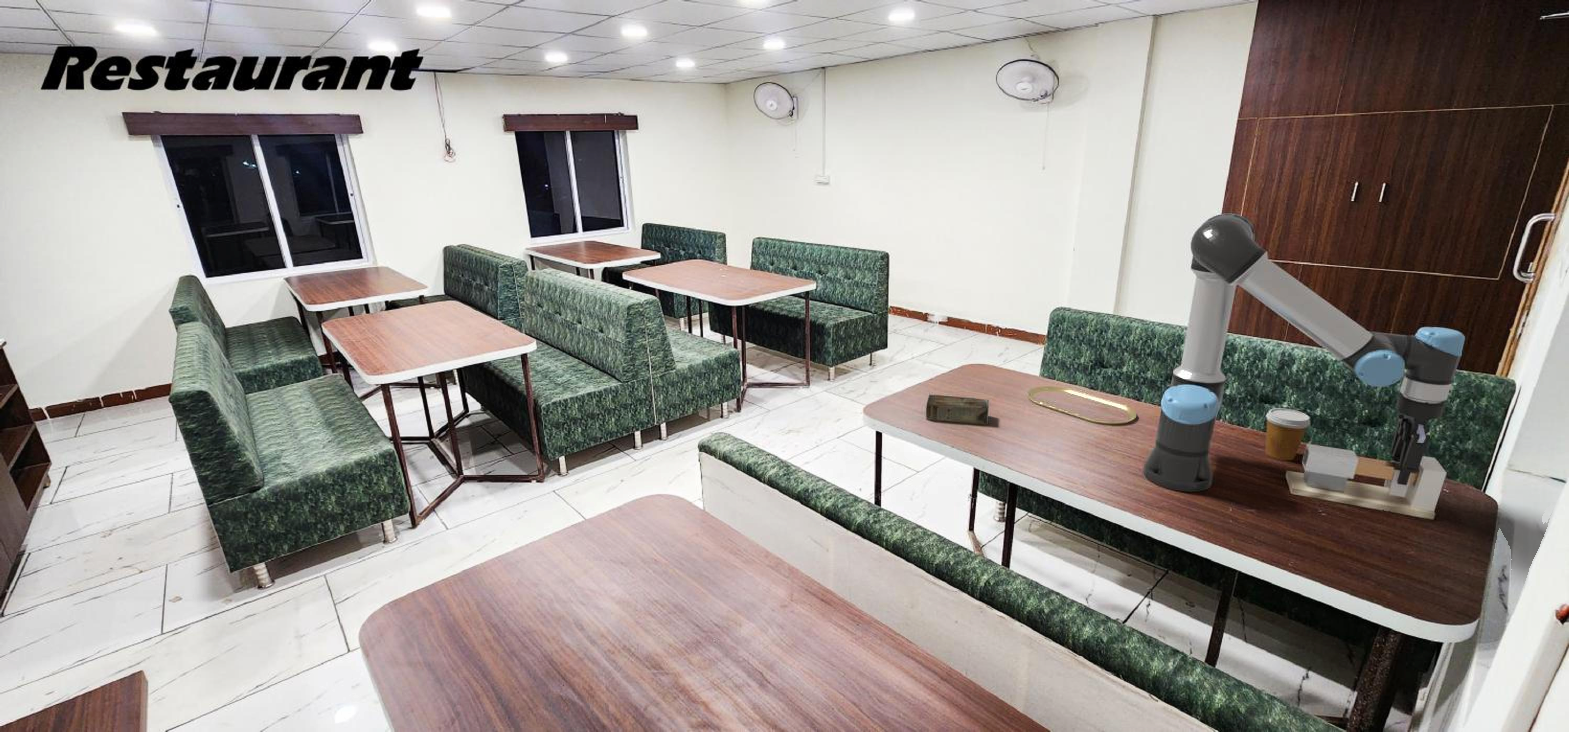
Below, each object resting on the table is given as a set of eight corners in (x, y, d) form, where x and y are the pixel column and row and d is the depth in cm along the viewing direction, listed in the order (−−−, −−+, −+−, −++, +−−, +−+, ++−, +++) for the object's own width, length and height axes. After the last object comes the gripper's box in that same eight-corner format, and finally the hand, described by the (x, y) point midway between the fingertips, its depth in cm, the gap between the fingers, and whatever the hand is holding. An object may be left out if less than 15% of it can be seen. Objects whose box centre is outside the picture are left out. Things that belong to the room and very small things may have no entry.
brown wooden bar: (1338, 471, 153) (1341, 459, 152) (1335, 465, 156) (1338, 453, 155) (1425, 485, 146) (1429, 472, 145) (1421, 479, 148) (1425, 466, 147)
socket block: (1411, 507, 146) (1423, 469, 143) (1402, 491, 153) (1413, 454, 150) (1433, 511, 144) (1446, 472, 141) (1423, 495, 151) (1434, 457, 148)
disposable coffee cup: (1309, 464, 170) (1319, 422, 166) (1268, 462, 172) (1277, 420, 168) (1290, 448, 179) (1299, 408, 175) (1251, 446, 180) (1260, 406, 177)
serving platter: (1047, 386, 231) (1048, 382, 230) (1147, 416, 203) (1148, 411, 203) (1015, 399, 221) (1015, 395, 220) (1115, 432, 193) (1116, 427, 193)
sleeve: (1301, 485, 157) (1309, 451, 154) (1298, 476, 161) (1306, 443, 158) (1348, 493, 153) (1358, 459, 150) (1344, 484, 157) (1353, 450, 154)
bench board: (1291, 493, 156) (1292, 488, 156) (1285, 475, 164) (1287, 470, 164) (1433, 519, 144) (1435, 513, 144) (1419, 498, 152) (1421, 493, 152)
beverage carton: (988, 426, 200) (989, 406, 198) (925, 420, 206) (925, 401, 204) (988, 416, 207) (989, 397, 205) (927, 411, 213) (927, 392, 211)
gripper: (1458, 413, 134) (1426, 511, 142) (1433, 388, 147) (1405, 479, 155) (1410, 407, 138) (1381, 503, 145) (1390, 383, 151) (1365, 472, 159)
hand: (1394, 491), depth 150 cm, fingers closed on brown wooden bar, 3 cm apart
